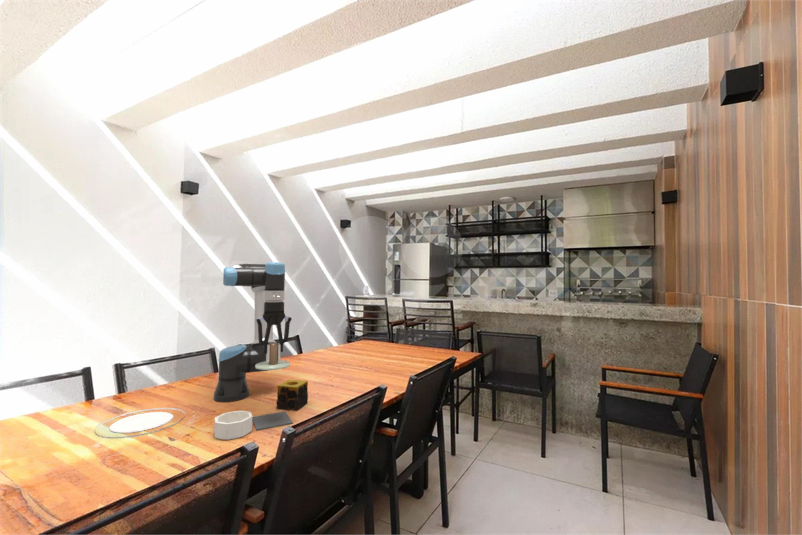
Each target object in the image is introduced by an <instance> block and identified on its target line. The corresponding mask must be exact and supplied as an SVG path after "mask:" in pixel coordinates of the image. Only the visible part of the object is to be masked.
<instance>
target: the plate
mask: <svg viewBox="0 0 802 535" xmlns="http://www.w3.org/2000/svg"><path fill="white" fill-rule="evenodd" d="M154 410H155V411H154ZM156 410H175V411H179V412H182V413H183V414H184V416H183V418H181V419H180V420H179V421H177V422H175V423H173V424H170V425H168V426H165V427H163V428H160V429H158V430H154V431H149V430H153V429H155V428H156V429H157V428H158V427H161V426H164V425H166V424H168V423H169V422H171V421H172V420H173V419H174V415H173V413H171V412H167V411H156ZM147 411H148V412H147ZM149 411H150V412H149ZM140 412H141V413H140ZM135 413H138V414H135ZM127 414H128V415H129V416H127ZM130 414H131V415H130ZM133 414H134V415H133ZM120 416H121V417H123V416H125V417H124V418H121V419H118V420H117V421H115V422H113V423H112V424H110V426H109V428H110V429H109V431H110V432H112V433H115V432H116V433H117V434H131V433H133V432H134V433H139V431H140V432H144V433H140V434H134V435H127V436H103V435H101V434H98V433H96V434H95V435H96V436H97V437H100V436H101V437H100V438H104V437H106V438H105V439H126V438H125V437H127V438H134V437H140V436H139V435H141V436H145V435H144V434H146V435H149V434H148V433H150V434H152V433H153V432H154V433H157V432H160V431H163V430H166V429H169V428H171V427H173V426H175V425H177V424H179V423H180V422H182V421H183V420H184V418H185V416H186V412H185V411H184V410H182V409H181V408H180V409H179V408H176V407H175V408H174V407H157V408H147V409H141V410H134V411H131V412H127V413H123V414H120V415H117V416H114V417H111V418H109V419H107V420H105V421H103V422H100V424H98V425H97V426H96V427H95V428H94V431H95V430H97V429H98V428H99V427H100V426H102V425H103V423H104V424H105V422H106V423H107V421H108V422H110V421H112V420H115V419H117V417H118V418H120ZM114 418H115V419H114ZM111 419H112V420H111ZM109 420H110V421H109ZM101 424H102V425H101ZM98 426H99V427H98ZM97 427H98V428H97ZM96 428H97V429H96ZM152 428H153V429H152ZM148 429H149V430H148ZM144 430H145V431H149V432H145V431H144ZM154 433H153V434H154Z"/></svg>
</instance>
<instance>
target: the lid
mask: <svg viewBox="0 0 802 535" xmlns="http://www.w3.org/2000/svg"><path fill="white" fill-rule="evenodd" d="M278 344H279V342H276V343H269V345H270V353H269V362H266V361H264V362H260V363H257V364H256V365H255V368H256V369H259V370H269V371H276V370H283V369H287V368H289V367H290V366H291V362H290V361H288V360H281V359H280V361H278Z"/></svg>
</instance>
